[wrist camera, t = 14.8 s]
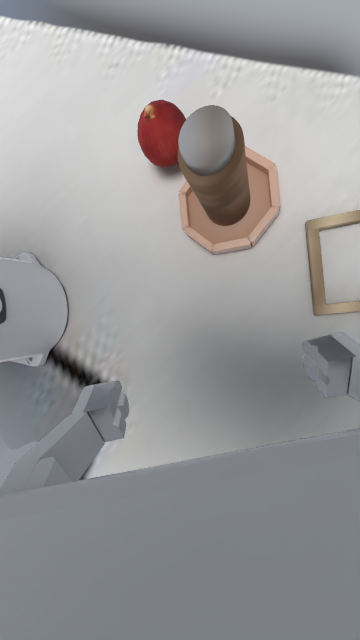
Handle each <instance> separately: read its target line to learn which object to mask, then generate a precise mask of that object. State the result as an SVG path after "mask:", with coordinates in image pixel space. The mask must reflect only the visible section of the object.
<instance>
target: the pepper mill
mask: <svg viewBox="0 0 360 640" xmlns="http://www.w3.org/2000/svg"><path fill="white" fill-rule="evenodd" d="M178 143H179V148H178V163H179V167H180V169H181V171H182V173H183V175H184V176H185V178H186V180H187V181H188V183H189V185H190V187H191V188H192V190H193V192H194V193H195V195H196V197H197V198H198V200H199V202H200V204H201V205H202V207H203V209H204V210H205V212H206V214H207V215H208V217H209V219H210V220H211V221H212V222H213V223H215V224H217V225H220V226H229V225H233V224H235V223H237V222H238V221H240V220H241V219H242V218H243V217H244V216H245V215H246V213H247V211H248V209H249V206H250V190H249V181H248V172H247V163H246V154H245V145H244V136H243V131H242V128H241V126H240V124H239V123H238V122H237V121H236V120H235V119H234V118H233V117H231V116H230V115H229V113H228V112H227V111H226V110H225V109H223V108H222V107H219V106H214V105H210V106H205V107H202V108H200V109H198V110H196V111H195V112H193V113H192V114H191V115H190V116H189V117H188V118H187V119H186V121H185V122H184V124H183V126H182V128H181V130H180V134H179V140H178Z"/></svg>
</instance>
